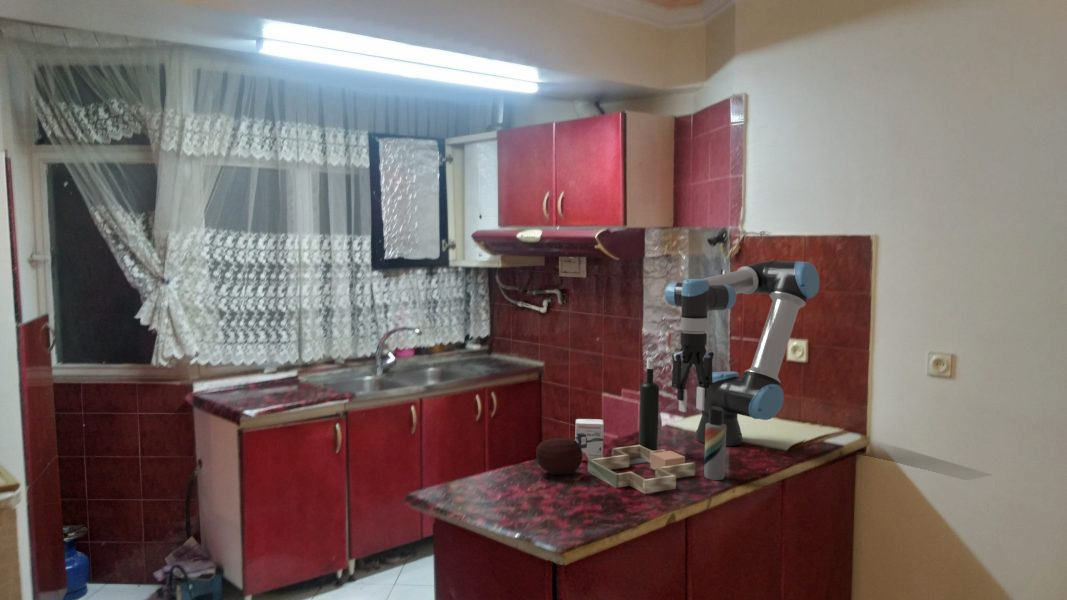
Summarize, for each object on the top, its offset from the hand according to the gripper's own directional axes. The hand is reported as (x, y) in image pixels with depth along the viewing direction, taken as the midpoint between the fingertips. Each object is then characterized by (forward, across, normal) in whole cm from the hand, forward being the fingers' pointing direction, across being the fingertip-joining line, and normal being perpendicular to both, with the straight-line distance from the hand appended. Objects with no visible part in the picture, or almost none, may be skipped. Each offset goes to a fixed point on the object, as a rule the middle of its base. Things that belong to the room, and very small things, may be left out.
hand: (691, 410), depth 211 cm
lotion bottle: (+17, 0, +11) cm, 20 cm away
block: (+17, +8, 0) cm, 19 cm away
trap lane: (+17, +17, 0) cm, 24 cm away
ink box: (+17, +24, -18) cm, 35 cm away
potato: (+17, +39, -9) cm, 44 cm away
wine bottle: (+17, +3, -17) cm, 24 cm away
